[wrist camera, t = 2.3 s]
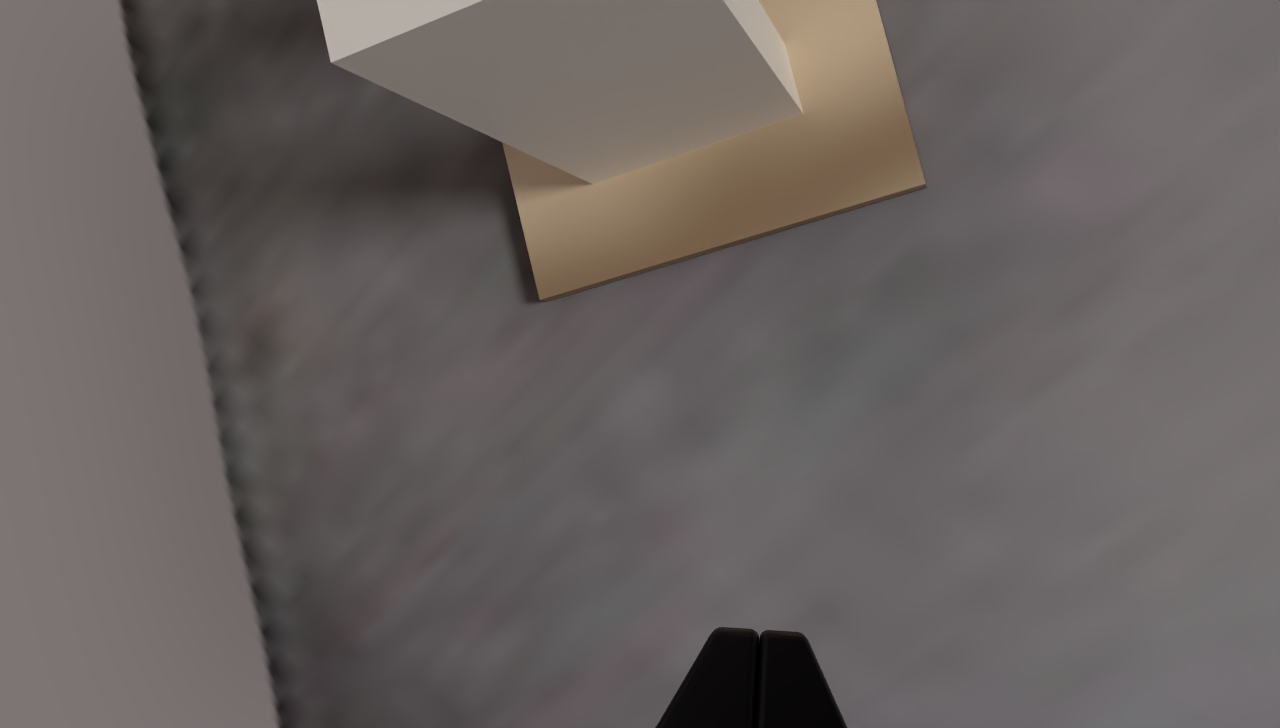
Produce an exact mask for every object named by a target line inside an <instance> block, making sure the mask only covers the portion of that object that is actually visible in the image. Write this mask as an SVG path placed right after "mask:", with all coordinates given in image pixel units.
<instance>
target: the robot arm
mask: <svg viewBox="0 0 1280 728" xmlns="http://www.w3.org/2000/svg"><path fill="white" fill-rule="evenodd" d="M656 728H847V726H846V724H845V722H844V719H843V717H842V715H841V713H840V710H839V708H838V706H837V704H836V701H835V699H834V697H833V695H832V693H831V690H830V688H829V686H828V684H827V681H826V679H825V677H824V675H823V672H822V670H821V668H820V666H819V663H818V661H817V659H816V657H815V655H814V652H813V650H812V648H811V646H810V643H809V641H808V640H807V638H806V637H805V636H804V635H803V634H802V633H799V632H790V631H774V630H766V631H764V632H762V634H761V635H760V639H759V635H758V633H757V632H756V631H754V630H752V629H743V628H728V627H719V628H717V629H715V630H714V631H713V632H712V633H711V635H710V636H709V638H708V640H707V641H706V643H705V645H704V646H703V648H702V650H701V651H700V653H699V655H698V657H697V658H696V660H695V662H694V663H693V665H692V667H691V668H690V670H689V672H688V674H687V675H686V677H685V679H684V680H683V682H682V684H681V685H680V687H679V689H678V691H677V692H676V694H675V696H674V697H673V699H672V701H671V703H670V704H669V706H668V708H667V709H666V711H665V713H664V714H663V716H662V718H661V720H660V721H659V723H658V725H657V726H656Z"/></svg>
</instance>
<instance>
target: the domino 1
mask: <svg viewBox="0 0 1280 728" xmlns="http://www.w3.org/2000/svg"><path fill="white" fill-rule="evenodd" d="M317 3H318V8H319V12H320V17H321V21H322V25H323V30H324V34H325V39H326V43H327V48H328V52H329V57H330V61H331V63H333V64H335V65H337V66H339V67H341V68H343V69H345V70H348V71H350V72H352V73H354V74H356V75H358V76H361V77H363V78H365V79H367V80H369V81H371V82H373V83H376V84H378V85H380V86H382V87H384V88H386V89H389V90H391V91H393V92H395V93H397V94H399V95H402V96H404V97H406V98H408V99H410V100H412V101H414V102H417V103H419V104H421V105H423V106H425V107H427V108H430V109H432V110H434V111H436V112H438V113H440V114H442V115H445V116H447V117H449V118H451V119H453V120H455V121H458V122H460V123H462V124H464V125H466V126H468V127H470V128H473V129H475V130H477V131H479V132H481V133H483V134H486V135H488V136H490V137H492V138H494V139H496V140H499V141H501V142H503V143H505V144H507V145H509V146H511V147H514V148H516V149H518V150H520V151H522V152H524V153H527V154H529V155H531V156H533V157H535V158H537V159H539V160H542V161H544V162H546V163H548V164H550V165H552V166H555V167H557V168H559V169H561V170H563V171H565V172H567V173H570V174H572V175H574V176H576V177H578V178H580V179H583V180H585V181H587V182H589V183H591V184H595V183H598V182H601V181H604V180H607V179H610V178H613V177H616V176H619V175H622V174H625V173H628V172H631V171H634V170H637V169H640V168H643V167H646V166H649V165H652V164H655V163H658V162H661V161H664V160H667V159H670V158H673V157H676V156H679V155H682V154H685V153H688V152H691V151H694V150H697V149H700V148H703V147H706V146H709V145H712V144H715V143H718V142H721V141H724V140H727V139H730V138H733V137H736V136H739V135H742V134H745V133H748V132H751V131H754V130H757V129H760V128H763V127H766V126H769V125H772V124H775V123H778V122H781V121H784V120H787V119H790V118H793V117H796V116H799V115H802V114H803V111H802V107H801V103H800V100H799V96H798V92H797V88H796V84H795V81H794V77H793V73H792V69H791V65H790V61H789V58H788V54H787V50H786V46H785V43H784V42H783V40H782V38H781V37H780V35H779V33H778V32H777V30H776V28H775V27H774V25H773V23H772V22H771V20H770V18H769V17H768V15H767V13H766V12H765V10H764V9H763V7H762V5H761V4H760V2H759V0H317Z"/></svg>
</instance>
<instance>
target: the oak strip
mask: <svg viewBox="0 0 1280 728" xmlns="http://www.w3.org/2000/svg"><path fill="white" fill-rule="evenodd" d="M759 2H760V4H761V5H762V7H763V9H764V10H765V12H766V13H767V15H768V17H769V18H770V20H771V22H772V23H773V25H774V27H775V28H776V30H777V32H778V33H779V35H780V37H781V38H782V40H783V42H784V43H785V46H786V50H787V54H788V58H789V61H790V65H791V69H792V73H793V77H794V81H795V84H796V88H797V92H798V96H799V100H800V103H801V107H802V111H803V114H802V115H799V116H796V117H793V118H790V119H787V120H784V121H781V122H778V123H775V124H772V125H769V126H766V127H763V128H760V129H757V130H754V131H751V132H748V133H745V134H742V135H739V136H736V137H733V138H730V139H727V140H724V141H721V142H718V143H715V144H712V145H709V146H706V147H703V148H700V149H697V150H694V151H691V152H688V153H685V154H682V155H679V156H676V157H673V158H670V159H667V160H664V161H661V162H658V163H655V164H652V165H649V166H646V167H643V168H640V169H637V170H634V171H631V172H628V173H625V174H622V175H619V176H616V177H613V178H610V179H607V180H604V181H601V182H598V183H595V184H591V183H589V182H587V181H585V180H583V179H580V178H578V177H576V176H574V175H572V174H570V173H567V172H565V171H563V170H561V169H559V168H557V167H555V166H552V165H550V164H548V163H546V162H544V161H542V160H539V159H537V158H535V157H533V156H531V155H529V154H527V153H524V152H522V151H520V150H518V149H516V148H514V147H511V146H509V145H507V144H505V143H503V142H502V144H503V148H504V152H505V156H506V160H507V165H508V169H509V173H510V177H511V181H512V186H513V190H514V194H515V198H516V203H517V207H518V211H519V215H520V219H521V224H522V228H523V232H524V236H525V240H526V245H527V249H528V253H529V257H530V261H531V266H532V270H533V274H534V278H535V282H536V287H537V291H538V295H539V299H540V300H542V301H551V300H554V299H558V298H561V297H564V296H568V295H571V294H574V293H578V292H581V291H584V290H588V289H591V288H594V287H598V286H601V285H604V284H608V283H611V282H614V281H618V280H621V279H624V278H628V277H631V276H634V275H637V274H641V273H644V272H647V271H651V270H654V269H657V268H661V267H664V266H667V265H671V264H674V263H677V262H681V261H684V260H687V259H691V258H694V257H697V256H701V255H704V254H707V253H711V252H714V251H717V250H721V249H724V248H727V247H731V246H734V245H737V244H741V243H744V242H747V241H751V240H754V239H757V238H761V237H764V236H767V235H771V234H774V233H777V232H781V231H784V230H787V229H791V228H794V227H797V226H801V225H804V224H807V223H810V222H814V221H817V220H820V219H824V218H827V217H830V216H834V215H837V214H840V213H844V212H847V211H850V210H854V209H857V208H860V207H864V206H867V205H870V204H874V203H877V202H880V201H884V200H887V199H890V198H894V197H897V196H900V195H904V194H907V193H910V192H914V191H917V190H920V189H924V188H927V187H926V183H925V179H924V176H923V172H922V168H921V165H920V161H919V157H918V153H917V150H916V146H915V142H914V139H913V135H912V131H911V128H910V124H909V120H908V117H907V113H906V109H905V105H904V102H903V98H902V94H901V91H900V87H899V83H898V80H897V76H896V72H895V68H894V65H893V61H892V57H891V54H890V50H889V46H888V43H887V39H886V35H885V32H884V28H883V24H882V20H881V17H880V13H879V9H878V6H877V2H876V0H759Z"/></svg>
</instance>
